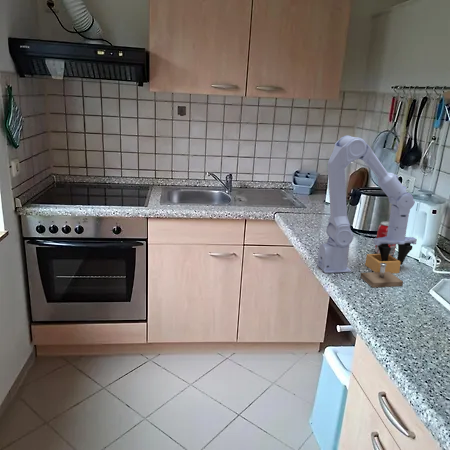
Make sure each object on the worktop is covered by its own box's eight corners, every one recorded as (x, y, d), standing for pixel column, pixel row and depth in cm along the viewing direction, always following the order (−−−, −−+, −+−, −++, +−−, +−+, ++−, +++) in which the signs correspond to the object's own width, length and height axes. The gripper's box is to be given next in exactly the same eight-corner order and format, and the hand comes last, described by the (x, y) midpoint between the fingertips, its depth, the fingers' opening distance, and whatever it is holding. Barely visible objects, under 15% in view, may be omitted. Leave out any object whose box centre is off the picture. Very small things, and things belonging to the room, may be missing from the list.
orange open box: (377, 273, 138) (378, 262, 137) (365, 264, 146) (366, 254, 145) (399, 272, 140) (400, 261, 138) (386, 264, 147) (387, 253, 146)
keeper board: (372, 287, 128) (375, 269, 126) (360, 277, 135) (362, 259, 133) (402, 286, 129) (405, 268, 128) (388, 275, 137) (391, 258, 135)
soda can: (378, 249, 162) (382, 219, 159) (396, 253, 158) (401, 223, 155) (371, 254, 157) (375, 223, 154) (390, 258, 153) (395, 227, 149)
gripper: (383, 230, 134) (378, 269, 138) (424, 229, 136) (418, 267, 140) (372, 223, 141) (367, 261, 144) (411, 223, 143) (405, 260, 147)
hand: (391, 264), depth 143 cm, fingers open, 5 cm apart
